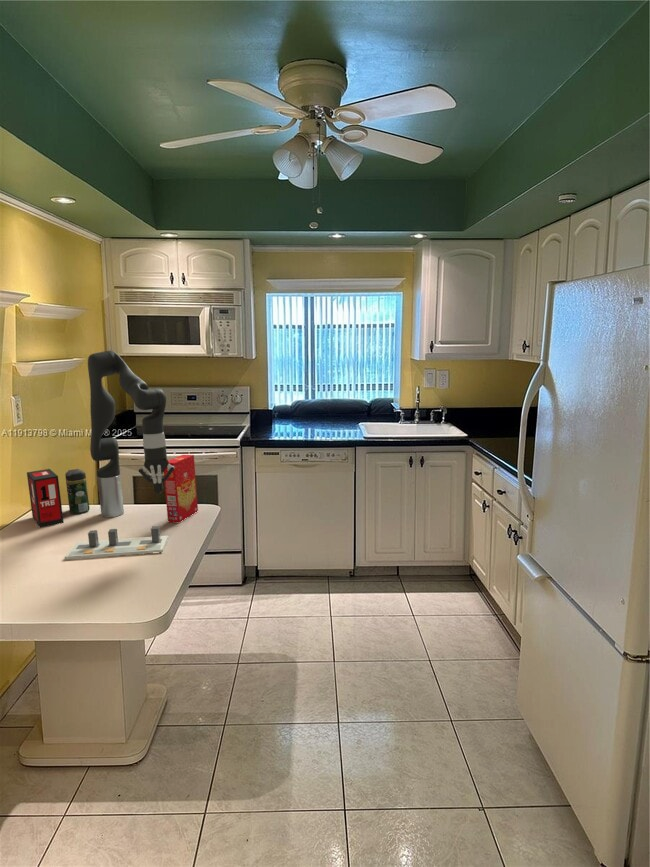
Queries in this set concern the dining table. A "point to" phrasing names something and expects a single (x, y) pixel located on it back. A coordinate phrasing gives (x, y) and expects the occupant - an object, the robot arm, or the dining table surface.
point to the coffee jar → (77, 491)
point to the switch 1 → (93, 538)
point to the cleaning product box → (45, 497)
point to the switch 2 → (155, 533)
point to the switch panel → (116, 548)
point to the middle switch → (113, 536)
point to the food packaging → (181, 489)
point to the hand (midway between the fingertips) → (159, 492)
